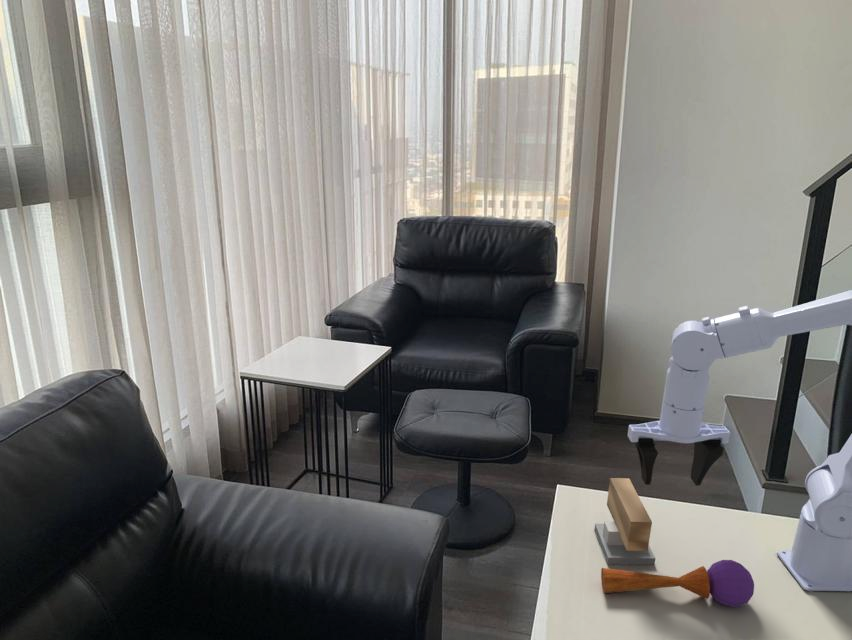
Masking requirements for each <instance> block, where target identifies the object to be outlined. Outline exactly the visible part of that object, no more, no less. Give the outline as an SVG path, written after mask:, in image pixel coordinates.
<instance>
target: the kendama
mask: <svg viewBox="0 0 852 640" xmlns="http://www.w3.org/2000/svg"><path fill="white" fill-rule="evenodd" d="M600 577H601V578H600V579H601V586H602V592H603V594H608V593H618V592H620V593H621V592H631V591H642V590H651V589H661V588H662V589H664V588H673V587H675V588H676V587H681V588H682V589H685V590H686V591H688V592H691V593H693V594H695V595H697V596H699V597H702V598H703V599H705V600H709V598H710V596H712V597H713V598H714V600H716V601H717V602H718V603H719V604H722V605H724V606H726V607H741V606H744V605H746V604H748V603H749V601H750V600H751V598H752V597H753V595H754V591H755V581H754V579H753V576H752V574H751V572H750V570H748V569H747V568H746V567H745V566H744V565H742V564H741V563H740V562H737V561H734V560H733V559H721V560H718V561H717V562H713V563H712V564H711V565H710V567H708V569H706V567H705V566H704V565H703V566H700V567H697V568H696V569H694V570H692V571H690V572H688V573H685V574H684V575H681V576H679V577H676V576H669V575H660V574H652V573H645V572H637V571H632V570H631V571H629V570H622V569H615V568H614V569H613V568H608V567H607V568H606V567H601V569H600Z"/></svg>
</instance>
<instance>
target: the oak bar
mask: <svg viewBox="0 0 852 640" xmlns="http://www.w3.org/2000/svg"><path fill="white" fill-rule="evenodd" d="M608 485H609V486H608V492H607V493H608V495H607V499H606V500H607V501H606V506H607V508H608V512H609V513H610V516H611V517H612V521H613V522H615V525H616V527H617V529H618V532H619V534H620V536H621V538H622V541H623V543H624V545H625V548H626V550H627V551H648V545H649V544H650V537H651V532H652V525H653V521H652V519H651V517H650V515H649V513H648V511H647V510H646V508H645V506H644V504H643V502H642V500H641V498H640V496H639V495H638V493H637V491H636V489H635V487H634V485H633V483H632V481H631V479H630V477H629V478H626V477H625V478H624V477H610V478H609V483H608ZM649 546H650V545H649Z"/></svg>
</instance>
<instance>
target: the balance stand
mask: <svg viewBox="0 0 852 640" xmlns="http://www.w3.org/2000/svg"><path fill="white" fill-rule="evenodd" d="M593 530H594V532H595V535H596V538H597V541H598V543H599V546H600V548H601V551H602V553H603V556H604V559H605V562H606V564H607V565H626V566H627V565H629V566H631V565H632V566H633V565H636V566H638V565H639V566H640V565H641V566H655V564H656V557H655V555H654V553H653V551H652V548H651V546H650V545H648V551H627V550H626V548H625V545H624V543H623V541H622V538H621V536H620V534H619V532H618V529H617V527H616V525H615V522H614V521H604V522H603V523H595V524H594V529H593Z"/></svg>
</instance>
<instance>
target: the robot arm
mask: <svg viewBox="0 0 852 640" xmlns="http://www.w3.org/2000/svg"><path fill="white" fill-rule="evenodd" d="M737 311H738V312H734V313H730V314H726V315H723V316H722V315H721V316H718V317H715V318H710V316H705V317H702V318H701V321H697V320H687V321H684V322H682V323H680V324H679V325H678V326H677V327H675V329H674V331H673V333H672V334H671V335H670V340H671V345H670V351H671V357H670V358H669V361H668V366H669V367H668V368H667V372H666V377H665V382H664V390H663V397H662V402H661V403H662V405H661V411H660V417H659V420H655V421H654V420H653V421H649V422H644V423H639V424H629V425H628V428H627V438H628V440H629V441H630V442H631V443H634V445H635V448H636V451H637V455H638V458H639V463H640V473H641V480H642V482H643V483H644V485H646V486H647V485H649V486H650V485H651V483H652V479H653V471H654V470H653V469H654V465H655V462H656V460H657V457H658V454H659V452H658V450H657V449H656V446H655V445H656V444H655V442H654V441H662V442H663V441H665V442H666V441H667V442H673V443H678V444H679V443H680V444H693V443H694V444H693V445H694V446H693V447H694V448H693V449H694V450H693V460H692V464H691V471H690V479H691V481H692V482H693V484H694V486H697V487H699V486H701V485H702V482H703V480H704V478H705V477H706V475H707V473H708V472H709V470H710V468H711V467H712V466H713V465H714V464H715V462H716V461H718V460H719V459H720V458H721V457H722V456H723V455H724V450H725V448H724V447H723V446H722V444H723V445H724V444H725V445H726V444H729V442H730V437H731V431H730V430H729V429H728V428H727V427H726V426H725V425H716V424H715V425H714V424H706V423H702V421H703V416H704V411H705V405H706V401H707V398H706V397H707V394H708V389H709V382H710V376H709V375H710V374H709V371H710V367H711V366H712V365H713V364H714V362H715V361H716V360H718V359H720V360H721V359H726V358H730V357H732V358H733V357H737V356H739V355H745V354H749V353H754V352H758V351H764V350H767V349H771V348H772V347H773V345H774V344H775V343H776V342H777V340H778V339H779V338H781V337H785V336H791V335H797V334H802V333H808V332H813V331H819V330H825V329H829V328H836V327H840V326H841V327H842V326H846V325H847V326H852V289H849V290H846V291H843V292H840V293H836V294H833V295H830V296H827V297H823V298H819V299H815V300H812V301H809V302H806V303H802V304H798V305H794V306H792V307H789V308H784V309H781V310H778V311H775V312H770V311H767V310H765V309H763V308H760V307H754V308H750V307H749V306H748V305H744V306H741V307H738V310H737ZM804 485H805V490H806V491H807V493H808V496H809V498H808V500H807V502H806V503H805V504H804V505H803V506H802V508H801V511H800V515H799V519H798V523H797V527H796V531H795V535H794V538H793V539H794V540H793V544H792V548H791V550H777V551H776V555H777V557H779V559H780V560H781V561H782V563H783V564H784V566H785V567H786V568H787V570H789V572H790V574H791V575H792V576H793V577H794V579H795V580H796V581H797V582H798V584H799V585H800V586H801V588H802V589H803V590H805V591H821V592H822V591H823V592H824V591H826V592H827V591H828V592H829V591H830V592H852V433H851V434H850V436H849V438H848V439H847V440H846V442H845V443H844V445H843V446H842V447H841V450H840V451H839V452H836V453H832V454H828V456H827V457H826V459H825V460H824V462H823V463H822V464H820V465H819V466H816V467H813V468H812V469H811V470H810V471H809V472H808V473H807V475H806V478H805V481H804Z"/></svg>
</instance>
